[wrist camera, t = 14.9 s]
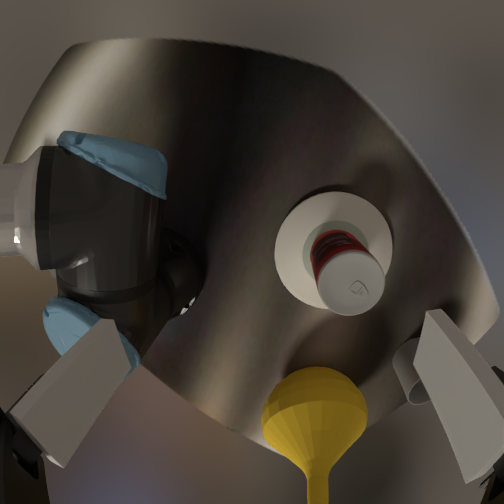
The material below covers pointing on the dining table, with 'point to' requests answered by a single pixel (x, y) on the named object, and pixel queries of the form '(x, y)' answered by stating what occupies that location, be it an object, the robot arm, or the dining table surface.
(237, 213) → the dining table surface
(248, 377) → the dining table surface
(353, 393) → the vase
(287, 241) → the plate
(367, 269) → the canned food
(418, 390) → the cup
